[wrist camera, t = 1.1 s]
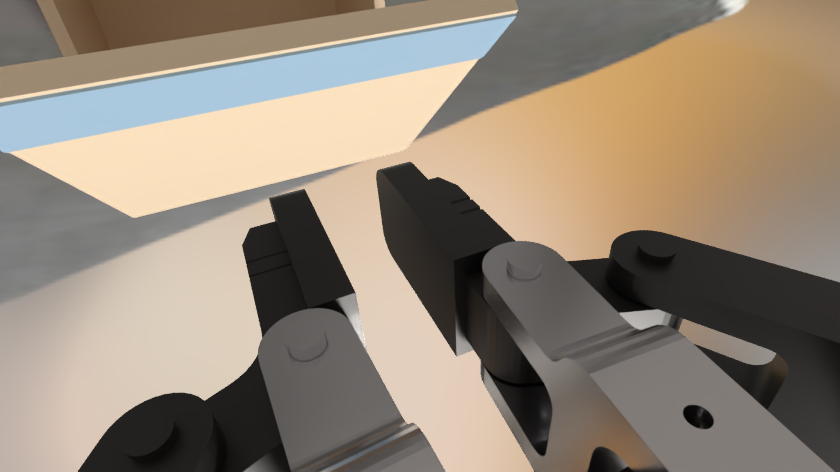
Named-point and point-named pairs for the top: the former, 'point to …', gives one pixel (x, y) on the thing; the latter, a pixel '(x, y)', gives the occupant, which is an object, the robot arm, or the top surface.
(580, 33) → the top surface
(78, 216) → the top surface
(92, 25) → the cardboard box
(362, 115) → the box lid
